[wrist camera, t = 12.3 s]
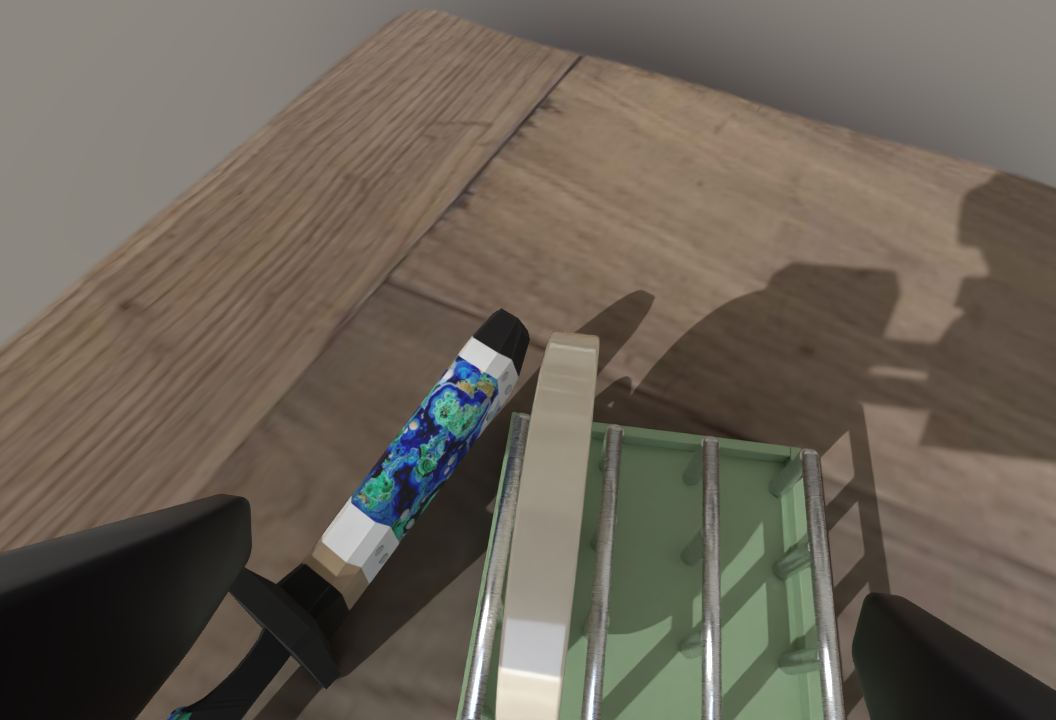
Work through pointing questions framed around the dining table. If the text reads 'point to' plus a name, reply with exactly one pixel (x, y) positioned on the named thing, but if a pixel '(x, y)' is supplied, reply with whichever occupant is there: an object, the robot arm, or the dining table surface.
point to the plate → (547, 532)
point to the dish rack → (681, 583)
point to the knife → (369, 523)
